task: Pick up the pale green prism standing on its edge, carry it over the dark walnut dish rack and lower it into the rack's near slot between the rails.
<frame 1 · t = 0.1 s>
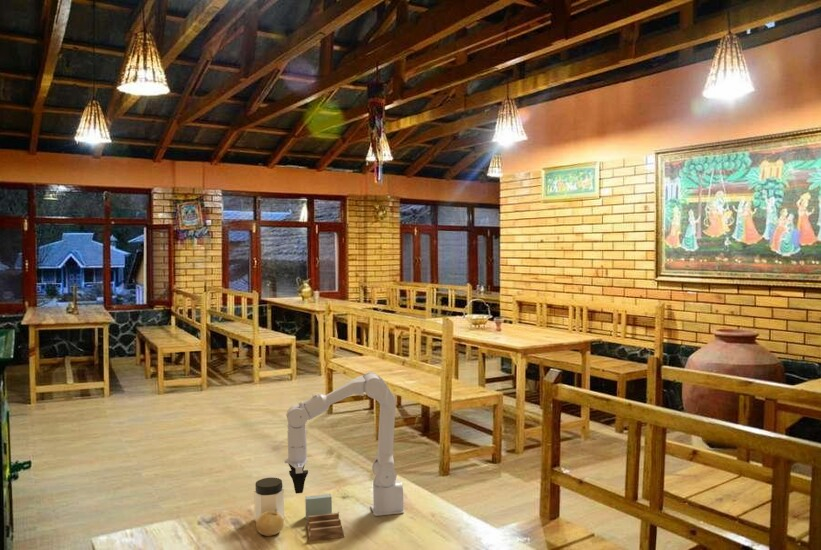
hand: (298, 488, 201), 10 cm above the table, tool pointing down, fingers open, 7 cm apart
jar: (269, 520, 201), on the table
rack: (325, 531, 193), on the table
onion: (270, 533, 192), on the table
pale green prism: (318, 516, 203), on the table
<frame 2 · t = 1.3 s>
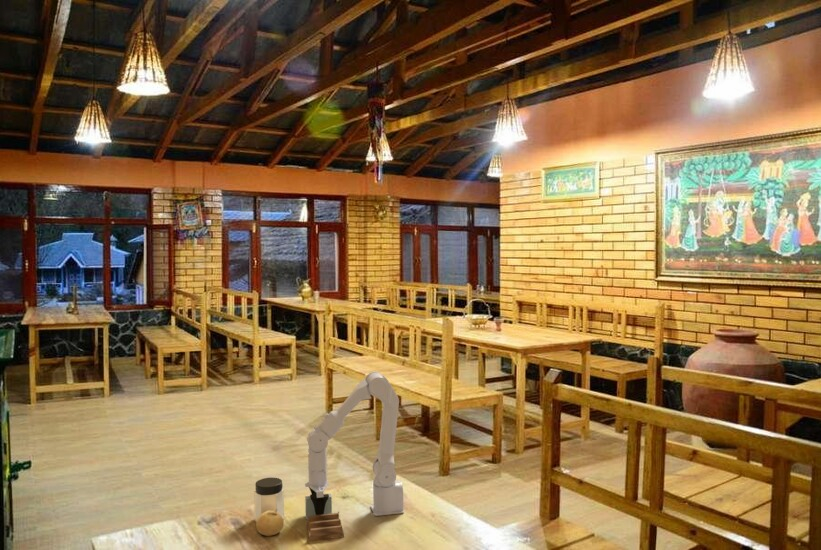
hand: (318, 511, 203), 2 cm above the table, tool pointing down, fingers open, 7 cm apart
nothing on the table moved.
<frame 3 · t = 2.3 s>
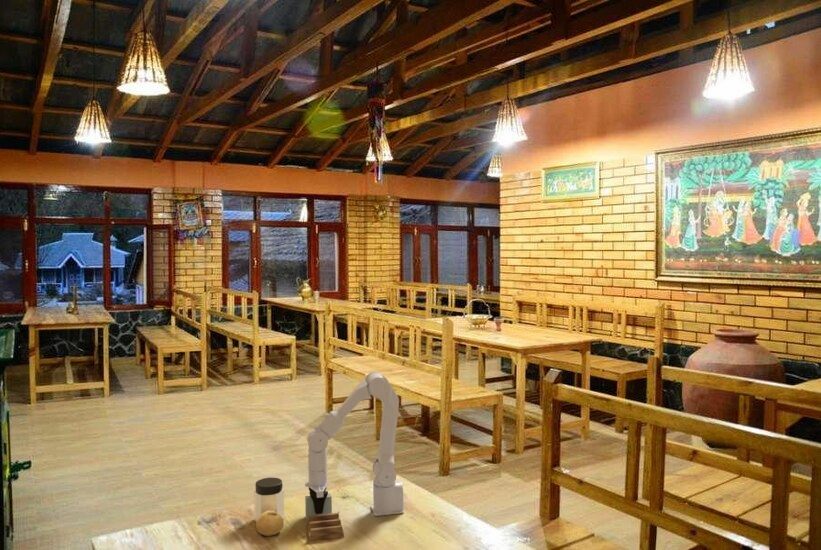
hand: (318, 511, 203), 2 cm above the table, tool pointing down, fingers closed on pale green prism, 2 cm apart
pale green prism: (318, 516, 203), on the table, touching gripper
everything else where it was.
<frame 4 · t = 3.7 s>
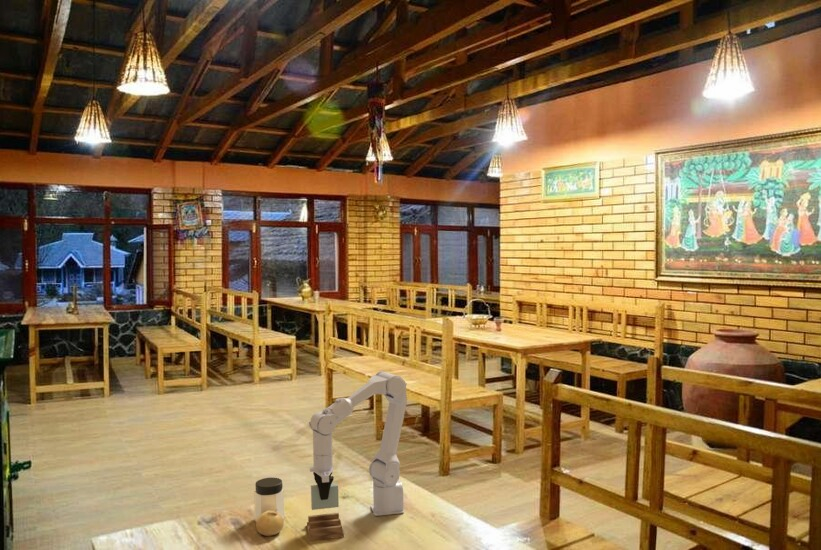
hand: (323, 497, 195), 9 cm above the table, tool pointing down, fingers closed on pale green prism, 2 cm apart
pale green prism: (324, 506, 195), point 6 cm above the table, touching gripper
everything else where it was.
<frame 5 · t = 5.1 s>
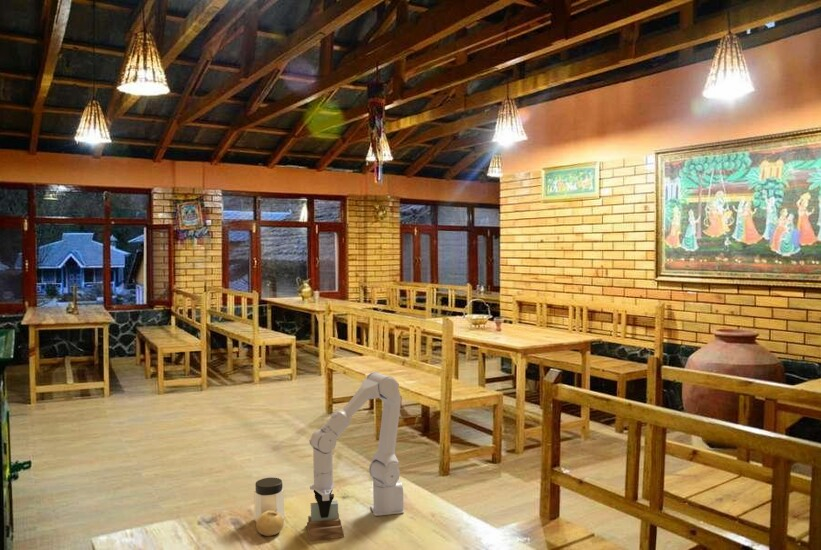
hand: (324, 515, 195), 4 cm above the table, tool pointing down, fingers closed on pale green prism, 2 cm apart
pale green prism: (324, 524, 195), point 1 cm above the table, touching gripper, rack
everything else where it was.
when the fingers open (4 cm above the table, at t = 5.3 s): pale green prism stays where it is, resting on rack.
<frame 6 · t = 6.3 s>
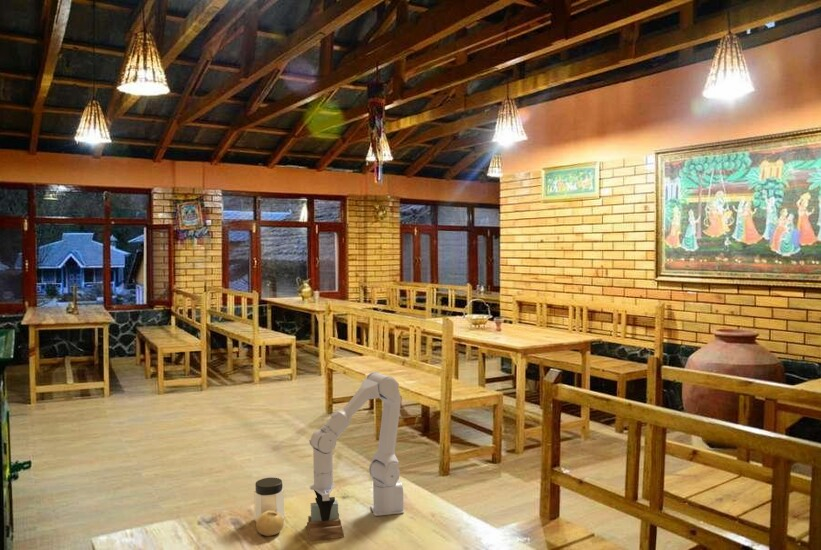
hand: (324, 515, 195), 4 cm above the table, tool pointing down, fingers open, 7 cm apart
pale green prism: (324, 524, 195), point 1 cm above the table, touching rack
everything else where it was.
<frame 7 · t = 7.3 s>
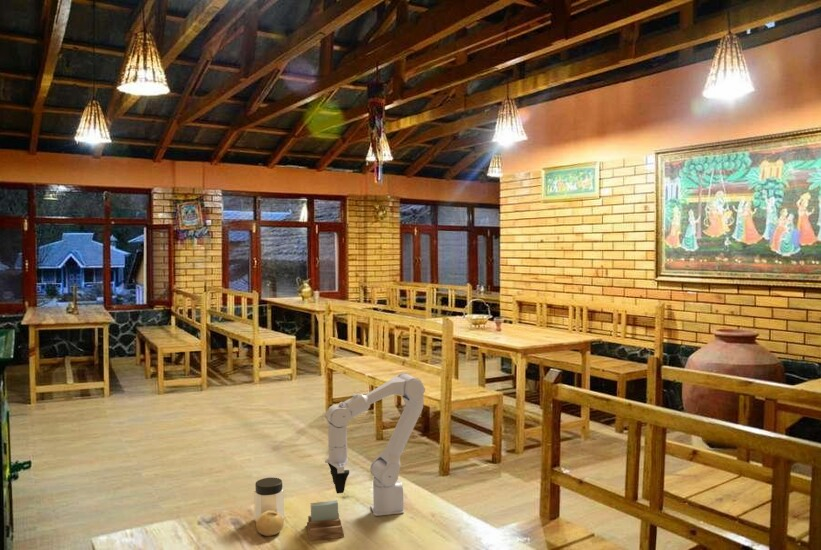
hand: (338, 488, 200), 10 cm above the table, tool pointing down, fingers open, 7 cm apart
nothing on the table moved.
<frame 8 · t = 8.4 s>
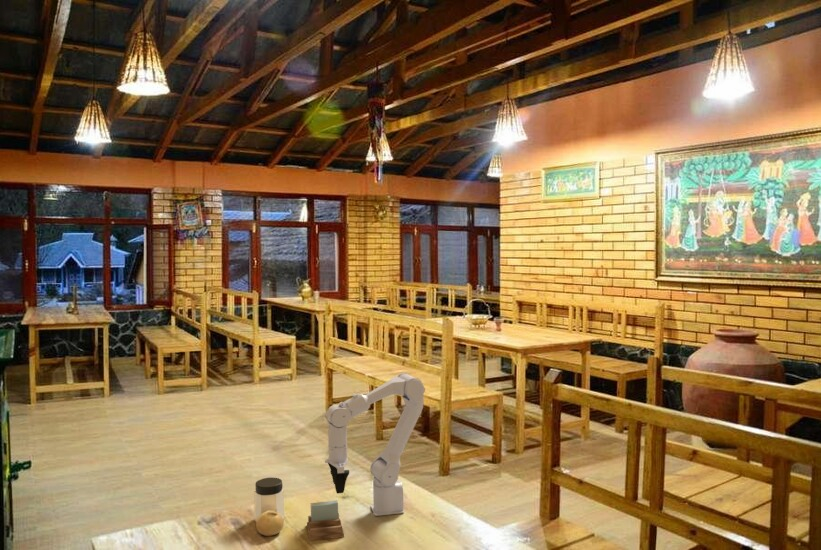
hand: (338, 488, 200), 10 cm above the table, tool pointing down, fingers open, 7 cm apart
nothing on the table moved.
at the end: pale green prism inside the target area on the rack (0.1 cm from its centre), point 1.0 cm above the rack's base; pale green prism tilted 0°; the gripper is holding nothing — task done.
